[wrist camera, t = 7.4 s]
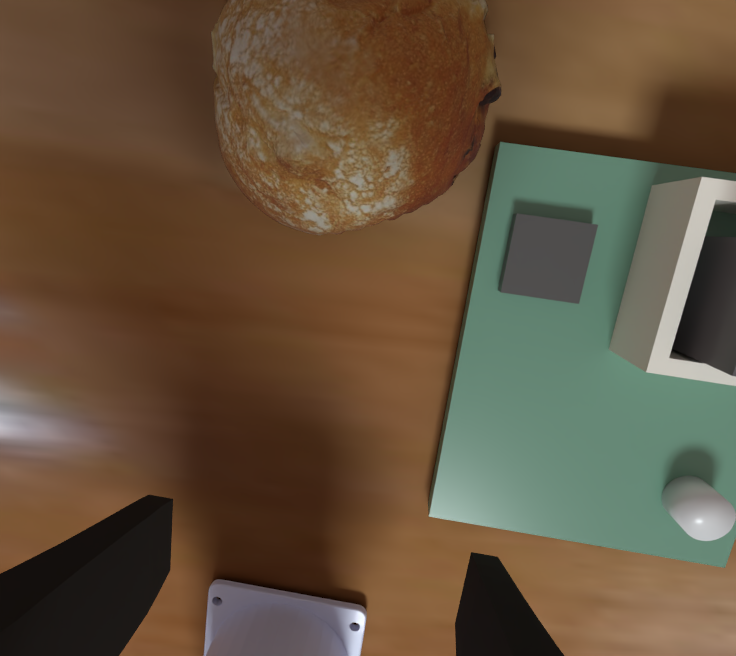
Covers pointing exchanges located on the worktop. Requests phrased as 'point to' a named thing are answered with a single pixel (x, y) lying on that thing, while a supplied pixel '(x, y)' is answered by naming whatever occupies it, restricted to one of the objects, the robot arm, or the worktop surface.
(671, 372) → the white rectangular frame
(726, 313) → the plug
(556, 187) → the board
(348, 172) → the bread roll
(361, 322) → the worktop surface
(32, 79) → the worktop surface
